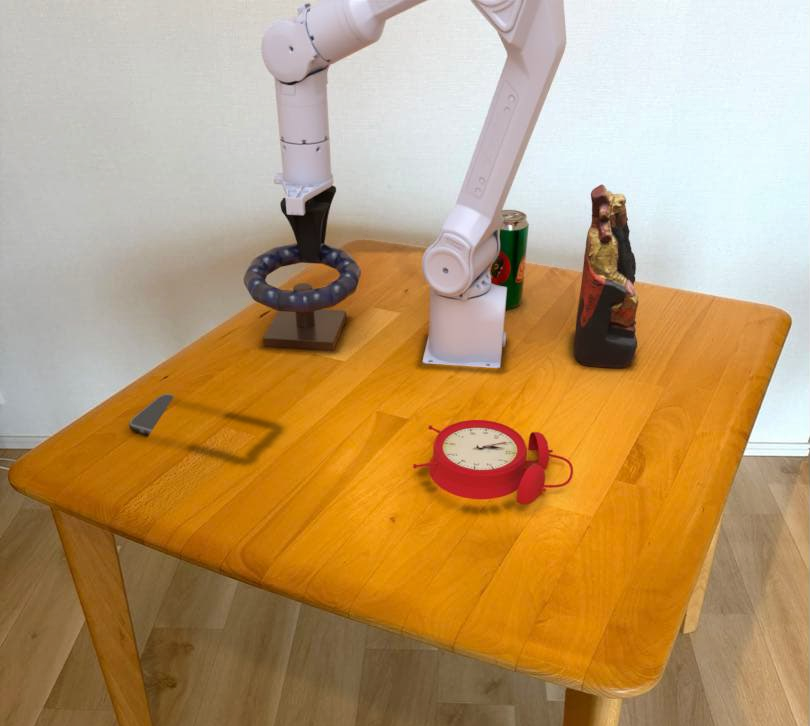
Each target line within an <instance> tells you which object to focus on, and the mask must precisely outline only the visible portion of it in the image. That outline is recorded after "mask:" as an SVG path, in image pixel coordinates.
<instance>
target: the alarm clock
mask: <svg viewBox="0 0 810 726" xmlns="http://www.w3.org/2000/svg"><path fill="white" fill-rule="evenodd" d="M427 428H428V430H430V431H431V430H432V431H434V432H436V433H437V435H436V437H435V440H434V441H433V445H432V450H433V451H432V453H433V455H432V457H431V459H430V461H429V462H425V463H420V464H417V463H414V464H413V465H412V467H413V469H417V468H420V467H428V472H429V476H430V478H431V480H432V481H433V482H434V484H436V485H437V486H438V487H439V488H440V489H442V490H443V491H445V492H447V493H449V494H452V495H454V496H457V497H459V498H464V499H470V500H493V499H498V498H502V497H503V498H504V497H506V496H509V495H511V494H513V493H514V492H516V491H517V493H516V494H517V495H516V502H517V503H518V504H523V505H528V504H531V503H533V502H534V501H536V500H537V499H538V498H539V496H540V495H541V494H542V493H543V492H546V491H547V489H548V488H549V489H551V488H552V489H553V488H562V487H565V486H566V485H568V484H569V483H570V482H571V481H572V479H573V475H574V466H573V463H572V462H571V461H570V460H569V459H567V458H566V457H564V456H562V455H557V454H553V453H554V450H553V449H550V448H549V444H548V440H547V438H546V437H545V435H544V434H543V433H541V432H538V431H532V432H531V433H530V434H529V437H528V444H526V442H525V439H524V438H523V436H522V435H521V434H520V433H519V432H518V431H516V430H515V429H514V428H512V427H510V426H508V425H506V424H504V423H500V422H496V421H492V420H487V419H468V420H462V421H458V422H454V423H452V424H449V425H447V426H446V427H444V428H443V429H441V430H439V429H437V428H435V427H434V426H433V425H428V427H427ZM527 445H528V446H527ZM527 447H528V448H527ZM528 451H537V452H538V459H537V460H527V456H528ZM550 458H555V459H559V460H562V461H564V462H566V463H567V464H568V466H569V468H570V472H569V473H570V474H569V477H568V479H567V480H566V481H565V482H563V483H559V484H545V483H546V473H545V470H546V469H547V468H548V465H549V461H550ZM527 464H528V465H529V464H531V465H529V467H528V465H527ZM546 488H547V489H546Z"/></svg>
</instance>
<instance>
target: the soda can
mask: <svg viewBox="0 0 810 726" xmlns="http://www.w3.org/2000/svg"><path fill="white" fill-rule="evenodd" d="M501 213H502V216H503V218H504V221H503V223H502V226H501V229H500V251H499V255H498V257H497V259H496V260H495V261H494V263H493V264H492V265H490V266H488V267H490V268H489V272H490V277H491V283H492V284H495V285H498V286H503V287H507V297H506V309H505V310H511V309H515V308H516V307H518V306H519V305H520V304H521V303H522V301H523V293H524V282H525V270H526V260H527V249H528V238H529V227H530V224H529V221H528V219H527V217H528V216H527V214H526V213H524V212H523V211H520V210H517V209H502V212H501Z"/></svg>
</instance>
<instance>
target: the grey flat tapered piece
mask: <svg viewBox="0 0 810 726" xmlns="http://www.w3.org/2000/svg"><path fill="white" fill-rule="evenodd" d="M174 397H175V394H171V393H170V394H169V393H165V394H162V395H160V396H157V397H156V398H155V399H154V400H153V401H152V402H150V403H149V404H147V406H146V407H144V408H143V409H142V410H141V411H139V412H138V413H137V414H136V415H134V417H132V418H131V419H130V421H129V423H128V426H129V428H130V430H132V431H134V432H137V433H140V434H144V435H148V436H150V434H151V433H152V431H153V430H154V428H155V427H156V425H158V422H159V420H161V417H162V416H163V414H164V413H165V411H166V410H167V408H168V407H169V405H170V404H171V402H172V400H173V399H174Z"/></svg>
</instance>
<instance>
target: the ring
mask: <svg viewBox="0 0 810 726" xmlns="http://www.w3.org/2000/svg"><path fill="white" fill-rule="evenodd" d="M249 263H250V264H249V266H248V267H247V270H246V272H245V273H244V276H243V284H244V286H245V288H246V290H247V291H248V293H249V295H250V296H251V298H252V300H253V301H255V302H256V303H258V304H261V305H262V306H265V307H268V308H270V309H272V310H275V311H276V312H278V311H286V312H303V313H307V312H312V311H316V310H321V309H329V308H334V307H335V306H337V305H339V304H340V303H341V302H343V301H345V300H346V299H348V298H349V297H350V296H352V295H353V294H355V293H356V291H357V288H358V285H359V282H360V279H361V277H362V276H361V275H362V270H361V267H360V266H359V264H358V263H357V262H356V261H355V260H354V257H352V255H351V254H350V253H349V252H347V251H345V250H343V249H340V248H338V247H335V246H332V245H329V244H328V243H324V244H321V248H320V254H319V257H318V259H311V258H302V256H301V254H300V251H299V248H298V245H297V242H295V243H290V244H285V245H281V246H275V247H273V248H270V249H269V250H267V251H265V252H263V253H261V254H260V255H258V256H256V257H255V258H253V259H252V260H251V261H250V262H249ZM297 264H314V265H315V264H318V265H324V266H326V267H329V268H332V269H334V270H336V271H337V272H338V273H339V276H338V278H337V279H335V280H333V281H332V282H331V283H329V284H327V285H326V286H321V287H317V288H312V290H307V291H293V289H292V290H291V289H290V290H289V289H280V288H278V287H276V286H274V285H271V284H269V283H268V282H267V281H266V279H267V277H268V275H270V274H272V273H273V272H275V271H277V270H278V269H280V268H282V267H289V266H292V265H297Z"/></svg>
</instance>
